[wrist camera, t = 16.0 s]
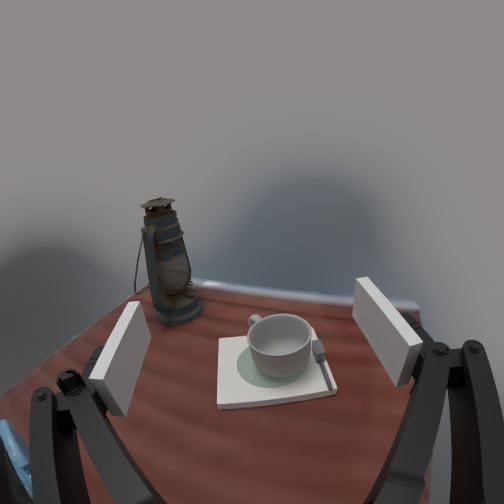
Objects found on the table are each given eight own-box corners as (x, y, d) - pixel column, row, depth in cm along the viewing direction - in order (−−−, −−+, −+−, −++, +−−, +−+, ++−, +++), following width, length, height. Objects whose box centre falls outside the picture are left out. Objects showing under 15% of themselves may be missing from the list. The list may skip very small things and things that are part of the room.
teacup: (321, 370, 46) (324, 336, 43) (267, 395, 42) (264, 362, 39) (283, 331, 58) (282, 299, 55) (235, 348, 54) (230, 316, 51)
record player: (218, 411, 42) (214, 397, 40) (220, 344, 59) (217, 329, 57) (336, 395, 42) (339, 380, 41) (312, 333, 59) (313, 318, 58)
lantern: (186, 336, 62) (158, 205, 51) (136, 328, 65) (104, 211, 54) (214, 294, 79) (198, 187, 68) (170, 291, 83) (150, 191, 72)
